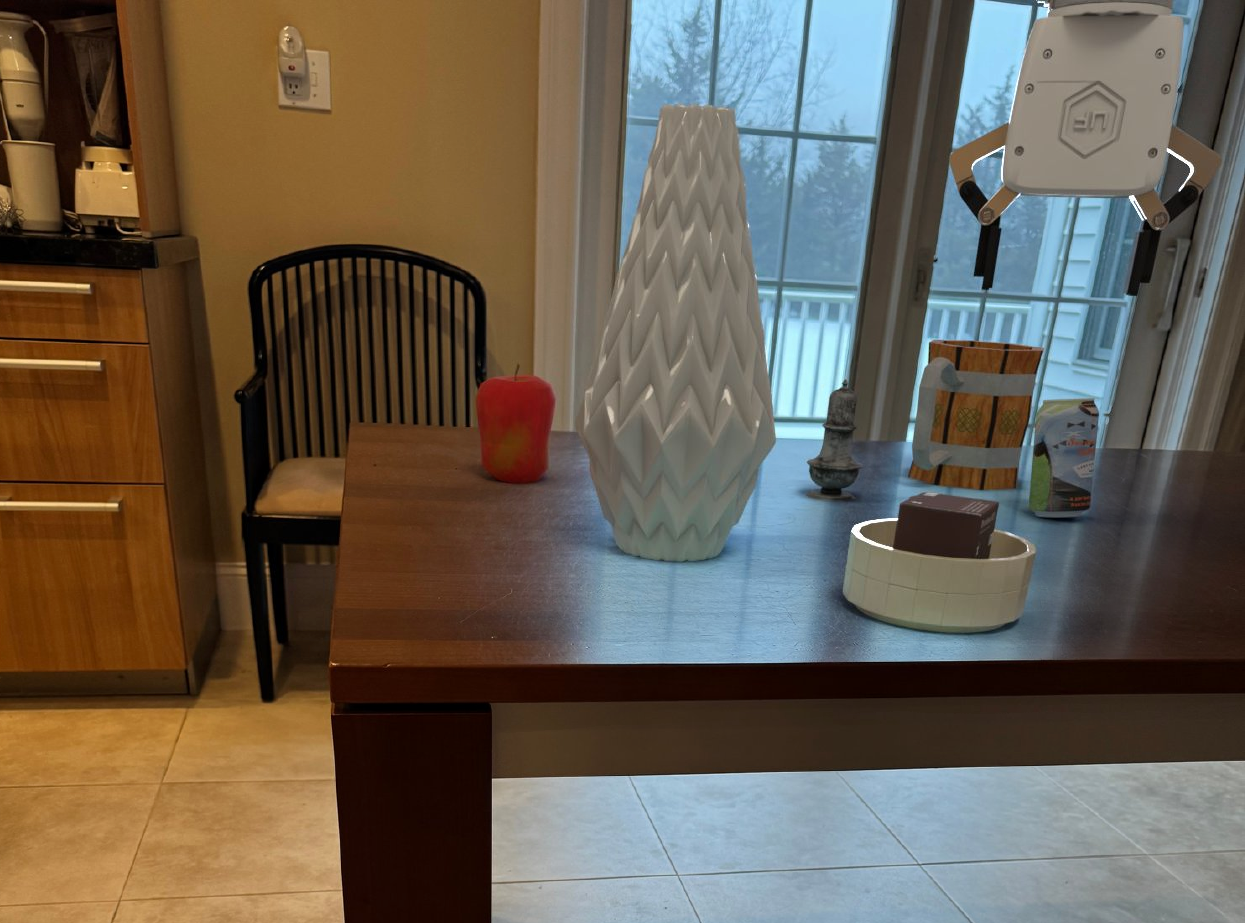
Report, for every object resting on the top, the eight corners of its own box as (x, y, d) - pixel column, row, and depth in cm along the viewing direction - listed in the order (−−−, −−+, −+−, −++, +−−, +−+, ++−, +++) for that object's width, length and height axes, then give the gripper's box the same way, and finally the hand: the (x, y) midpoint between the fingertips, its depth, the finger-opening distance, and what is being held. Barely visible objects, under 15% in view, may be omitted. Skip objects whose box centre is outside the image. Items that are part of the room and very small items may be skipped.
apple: (516, 469, 132) (517, 357, 127) (570, 481, 128) (574, 365, 122) (459, 477, 126) (458, 360, 121) (514, 490, 122) (515, 368, 116)
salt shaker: (842, 505, 123) (858, 383, 118) (793, 496, 126) (806, 377, 121) (867, 498, 127) (884, 380, 122) (819, 489, 131) (833, 374, 125)
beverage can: (1068, 527, 119) (1096, 402, 113) (1004, 513, 124) (1028, 392, 118) (1098, 520, 123) (1126, 399, 117) (1035, 507, 127) (1059, 390, 122)
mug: (939, 465, 149) (961, 338, 142) (1040, 483, 141) (1068, 348, 134) (857, 482, 136) (876, 342, 129) (963, 502, 128) (990, 354, 121)
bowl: (1019, 600, 93) (1034, 530, 90) (1020, 647, 81) (1037, 569, 79) (852, 579, 96) (862, 511, 93) (831, 622, 85) (841, 546, 82)
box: (962, 617, 85) (982, 514, 81) (882, 602, 87) (897, 502, 84) (982, 598, 89) (1001, 500, 86) (905, 585, 92) (921, 489, 89)
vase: (580, 523, 110) (593, 112, 95) (757, 534, 109) (799, 122, 94) (561, 567, 95) (574, 88, 80) (767, 580, 94) (819, 100, 79)
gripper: (970, -14, 73) (928, 288, 81) (1272, -19, 69) (1197, 299, 77) (972, 7, 80) (933, 285, 88) (1248, 3, 76) (1181, 295, 83)
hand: (1057, 291), depth 82 cm, fingers open, 9 cm apart
